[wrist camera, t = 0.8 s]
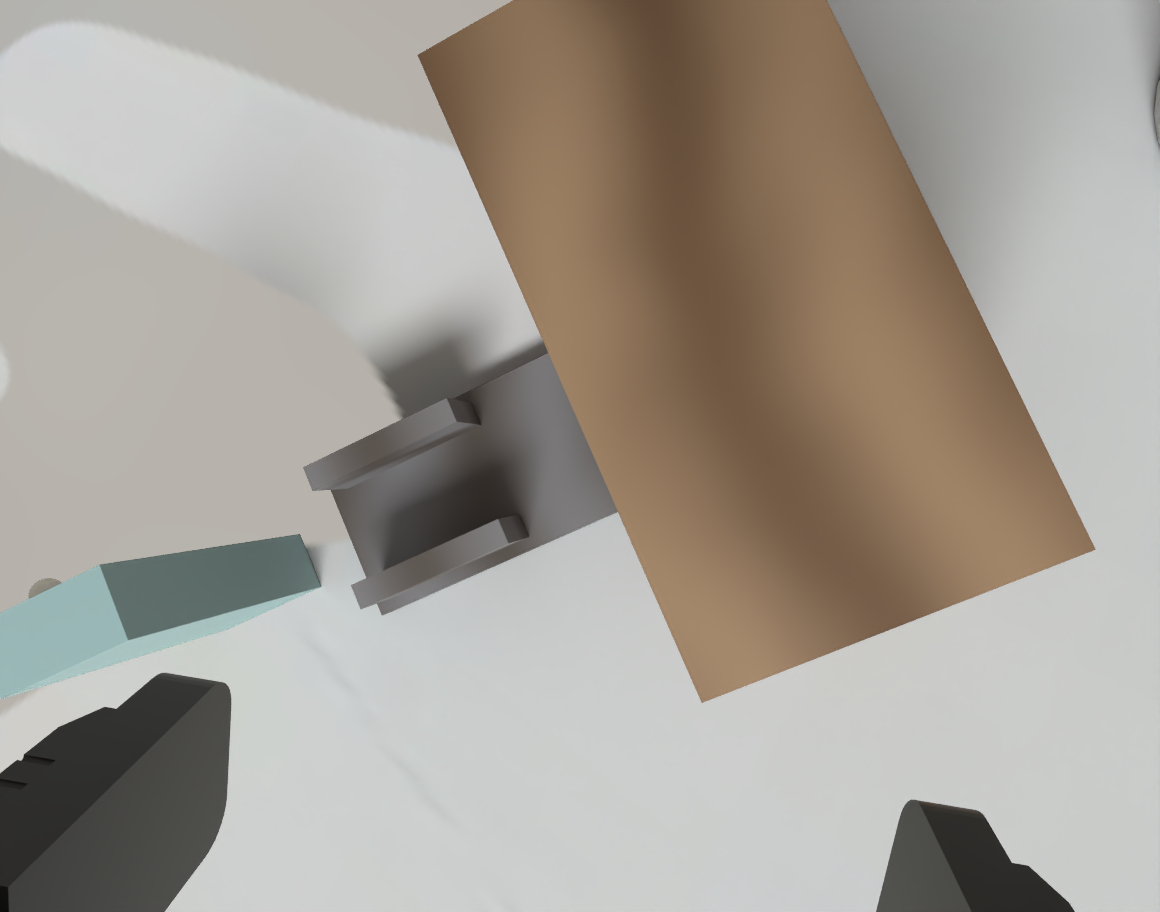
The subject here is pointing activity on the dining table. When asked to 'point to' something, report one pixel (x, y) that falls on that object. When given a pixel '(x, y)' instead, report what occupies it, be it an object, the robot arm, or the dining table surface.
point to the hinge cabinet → (711, 344)
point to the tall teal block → (145, 608)
